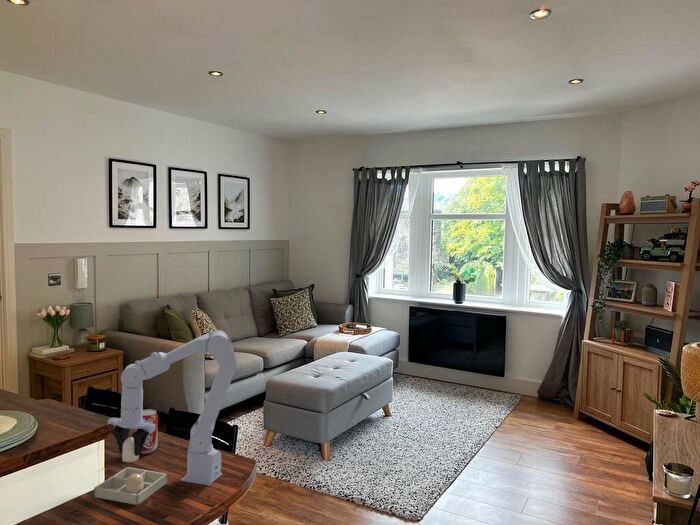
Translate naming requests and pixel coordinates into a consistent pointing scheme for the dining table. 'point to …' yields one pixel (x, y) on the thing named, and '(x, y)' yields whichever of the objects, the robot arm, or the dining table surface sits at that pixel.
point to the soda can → (151, 439)
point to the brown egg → (134, 484)
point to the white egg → (129, 451)
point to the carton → (117, 486)
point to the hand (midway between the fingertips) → (130, 453)
